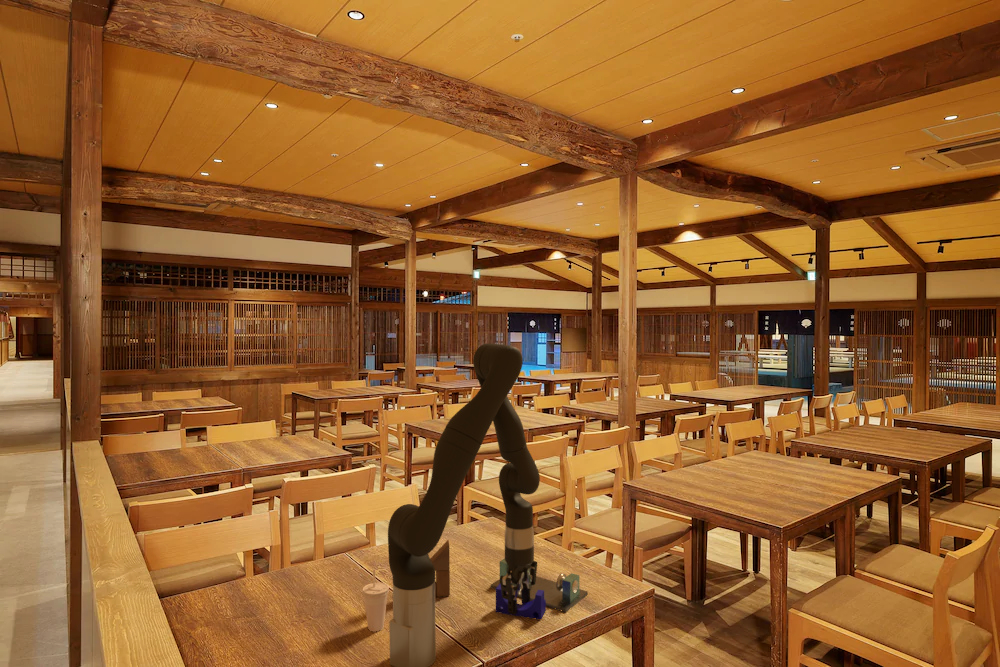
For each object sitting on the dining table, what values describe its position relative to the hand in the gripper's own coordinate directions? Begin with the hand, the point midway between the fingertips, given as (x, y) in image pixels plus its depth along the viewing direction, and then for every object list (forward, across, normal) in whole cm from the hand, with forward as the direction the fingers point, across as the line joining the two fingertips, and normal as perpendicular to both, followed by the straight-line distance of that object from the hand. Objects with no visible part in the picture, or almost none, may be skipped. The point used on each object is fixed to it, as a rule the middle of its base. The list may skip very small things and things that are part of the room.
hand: (519, 608), depth 143 cm
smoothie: (+1, -27, +24) cm, 36 cm away
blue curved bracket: (+1, 0, 0) cm, 1 cm away
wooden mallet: (+1, -7, +25) cm, 26 cm away
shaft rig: (+1, +12, +2) cm, 13 cm away
